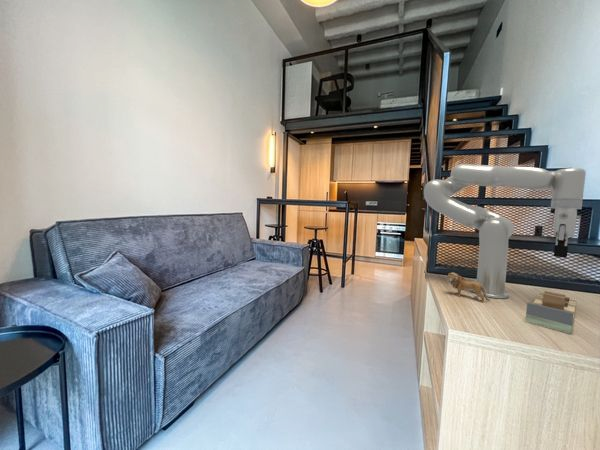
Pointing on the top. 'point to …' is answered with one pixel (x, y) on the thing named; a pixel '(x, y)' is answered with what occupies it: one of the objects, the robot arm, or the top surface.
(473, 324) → the top surface
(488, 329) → the top surface
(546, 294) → the walnut block
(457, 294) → the lion figurine
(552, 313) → the end stop
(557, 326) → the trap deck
